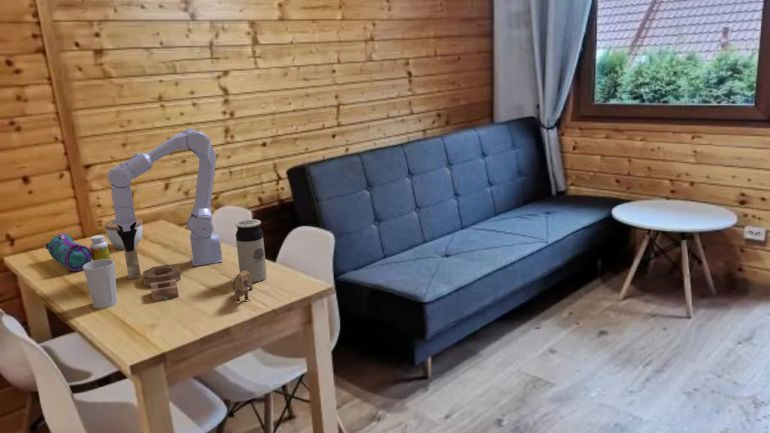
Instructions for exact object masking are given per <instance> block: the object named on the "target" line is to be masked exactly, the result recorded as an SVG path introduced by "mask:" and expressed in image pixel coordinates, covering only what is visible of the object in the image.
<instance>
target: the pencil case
mask: <svg viewBox="0 0 770 433" xmlns="http://www.w3.org/2000/svg"><path fill="white" fill-rule="evenodd" d="M45 250H47V251H48V253H49V254H50V256H51V257H52V258H53V260H54V261H56V262H57V263H59V264H60V265H62V266H63V267H64V268H65V267H66V269H68V270H70V271H73V272H82V271H84V269H83V265H85V264H86V263H89V262H92V261H93V260H92V252H91V248H89V247H88V246H86V245H83V244H79V243H78V242H75V241H74V239H73V237H72V236H70V235H69V234H66V233H60V234H57V235H56V236H54V237H52V238H51V240H50V241H49V243H45Z"/></svg>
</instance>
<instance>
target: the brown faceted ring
mask: <svg viewBox="0 0 770 433" xmlns="http://www.w3.org/2000/svg"><path fill="white" fill-rule="evenodd" d="M142 274H143V282H144V283H143V284H144V286H145V287H151V283H156V282H162V281H168V280H174V279H176V283H177V282H179V281H182V277H181V271H180V268H179V265H174V264H173V265H172V264H165V265H157V266H152V267H151V268H148V269H146V270H143V271H142Z"/></svg>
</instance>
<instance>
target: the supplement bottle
mask: <svg viewBox="0 0 770 433" xmlns="http://www.w3.org/2000/svg"><path fill="white" fill-rule="evenodd" d="M90 239H91V243H90V246H89V247H90V248H89V249H90V250H91V252H92V260H91V261H96V260H102V259H110V260H111V254H110V249H109V243H108V242H107V241H105V240H106V239H105V235H101V234H99V235H93V236H91V238H90Z"/></svg>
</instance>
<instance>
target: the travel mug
mask: <svg viewBox="0 0 770 433" xmlns="http://www.w3.org/2000/svg"><path fill="white" fill-rule="evenodd" d="M261 222H262V220H259V219H253V218H252V219H243V220H240V221H237V222H236V223H235V227H236V228H237V231H236V233H235V239H236V250H237V259H238V270H239V273H240V272H242V271H247V272H249V274H250V276H251V281H252V282H253V283H258V282H257V281H259V282H261V280H262V281H263V280H265V279H266V278H267V274H268V273H267V265H266V254H265V253H266V252H265V244H264V243H265V242H264V232H263V230H262V229H261V225H262V224H261Z"/></svg>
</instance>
